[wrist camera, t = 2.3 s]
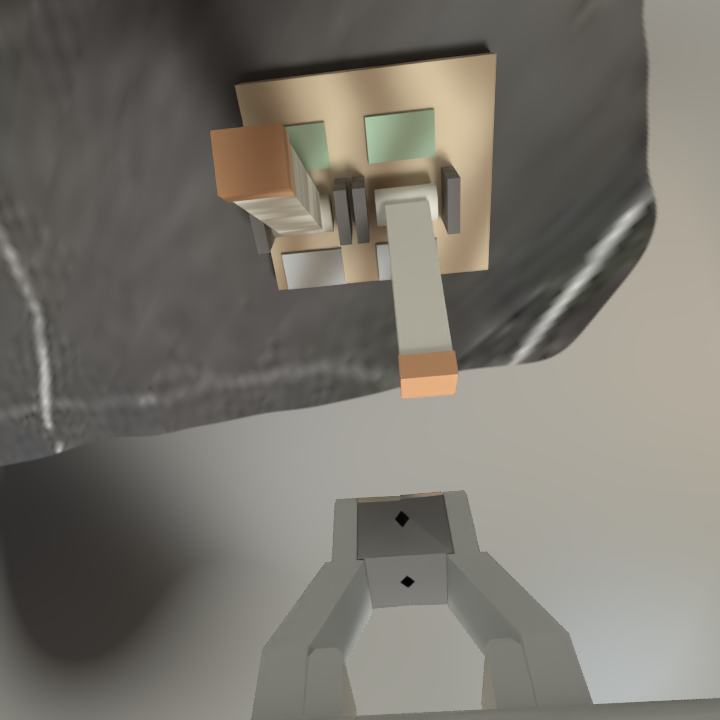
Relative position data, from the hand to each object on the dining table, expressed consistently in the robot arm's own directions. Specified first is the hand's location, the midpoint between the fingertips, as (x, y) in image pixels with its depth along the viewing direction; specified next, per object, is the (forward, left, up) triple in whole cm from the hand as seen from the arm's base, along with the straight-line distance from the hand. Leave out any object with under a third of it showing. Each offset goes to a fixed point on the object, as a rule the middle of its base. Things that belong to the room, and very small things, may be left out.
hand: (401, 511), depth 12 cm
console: (0, 0, -29) cm, 29 cm away
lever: (+2, 0, -27) cm, 27 cm away
